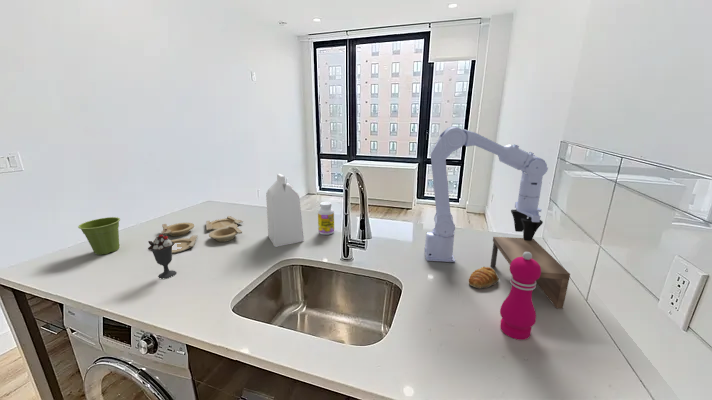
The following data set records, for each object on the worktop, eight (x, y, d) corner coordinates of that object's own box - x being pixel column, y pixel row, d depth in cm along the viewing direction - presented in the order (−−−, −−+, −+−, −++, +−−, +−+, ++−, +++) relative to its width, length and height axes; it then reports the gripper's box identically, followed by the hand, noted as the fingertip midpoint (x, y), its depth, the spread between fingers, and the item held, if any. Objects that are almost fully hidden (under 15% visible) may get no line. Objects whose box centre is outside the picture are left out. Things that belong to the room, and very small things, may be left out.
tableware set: (238, 218, 148) (237, 210, 147) (253, 239, 124) (252, 229, 122) (153, 233, 130) (151, 224, 129) (150, 260, 106) (148, 250, 105)
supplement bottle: (319, 236, 125) (318, 206, 121) (317, 230, 131) (316, 201, 127) (335, 234, 126) (334, 204, 123) (333, 228, 133) (332, 200, 129)
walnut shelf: (513, 305, 80) (518, 271, 77) (489, 264, 101) (493, 236, 98) (562, 308, 78) (570, 274, 75) (528, 266, 99) (533, 238, 96)
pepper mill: (491, 321, 74) (502, 245, 68) (520, 319, 75) (533, 244, 69) (508, 342, 67) (522, 260, 61) (539, 340, 68) (555, 259, 62)
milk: (268, 235, 126) (262, 173, 118) (295, 230, 131) (291, 170, 123) (274, 246, 115) (268, 179, 108) (304, 240, 120) (300, 176, 113)
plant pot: (127, 241, 121) (120, 214, 118) (126, 252, 112) (119, 223, 108) (88, 249, 115) (80, 221, 112) (84, 261, 105) (75, 231, 102)
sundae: (184, 271, 98) (176, 227, 94) (165, 282, 92) (156, 236, 88) (169, 268, 100) (160, 225, 96) (149, 278, 94) (139, 233, 90)
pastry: (483, 293, 85) (485, 281, 84) (462, 283, 90) (463, 272, 89) (499, 282, 91) (501, 270, 90) (478, 273, 96) (480, 262, 95)
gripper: (554, 202, 87) (546, 245, 91) (532, 189, 101) (527, 227, 105) (528, 201, 88) (521, 244, 92) (510, 189, 102) (505, 227, 106)
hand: (523, 235), depth 99 cm, fingers open, 7 cm apart
